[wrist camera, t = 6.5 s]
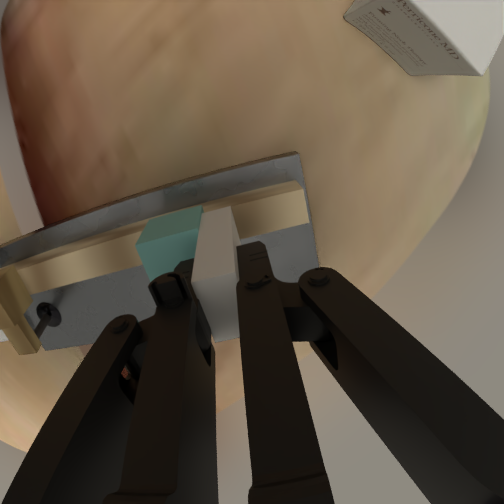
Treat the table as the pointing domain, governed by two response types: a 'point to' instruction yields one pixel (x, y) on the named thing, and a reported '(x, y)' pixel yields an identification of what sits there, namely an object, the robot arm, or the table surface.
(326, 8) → the table surface
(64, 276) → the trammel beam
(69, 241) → the bolt plate
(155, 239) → the block
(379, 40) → the product box
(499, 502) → the robot arm
